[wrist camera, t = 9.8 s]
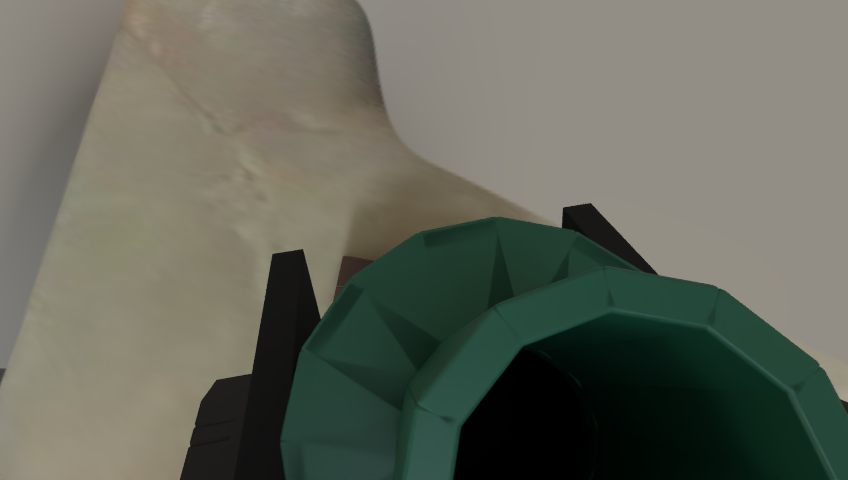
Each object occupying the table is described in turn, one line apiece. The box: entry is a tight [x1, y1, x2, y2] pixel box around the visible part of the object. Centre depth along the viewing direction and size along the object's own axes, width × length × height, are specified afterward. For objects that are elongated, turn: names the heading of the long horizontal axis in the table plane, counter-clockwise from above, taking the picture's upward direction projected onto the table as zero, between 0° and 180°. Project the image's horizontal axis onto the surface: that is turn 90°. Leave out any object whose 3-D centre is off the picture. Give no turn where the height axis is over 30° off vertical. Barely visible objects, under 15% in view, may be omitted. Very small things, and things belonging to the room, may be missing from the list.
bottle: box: [280, 217, 848, 480], centre depth 12 cm, size 7×7×18 cm
